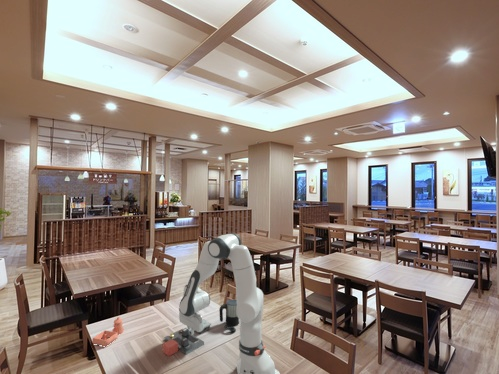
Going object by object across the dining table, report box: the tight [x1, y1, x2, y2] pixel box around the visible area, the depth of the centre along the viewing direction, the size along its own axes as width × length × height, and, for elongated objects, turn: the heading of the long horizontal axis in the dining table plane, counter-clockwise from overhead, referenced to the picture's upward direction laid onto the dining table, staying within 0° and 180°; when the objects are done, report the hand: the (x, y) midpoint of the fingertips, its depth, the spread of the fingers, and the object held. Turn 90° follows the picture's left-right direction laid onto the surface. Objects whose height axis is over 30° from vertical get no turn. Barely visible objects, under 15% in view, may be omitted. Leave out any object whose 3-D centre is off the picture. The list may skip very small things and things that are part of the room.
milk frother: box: [219, 298, 240, 332], centre depth 173 cm, size 14×16×15 cm
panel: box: [163, 328, 205, 355], centre depth 155 cm, size 22×13×2 cm, turn 50°
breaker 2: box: [181, 337, 189, 347], centre depth 149 cm, size 3×3×3 cm
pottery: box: [92, 316, 125, 348], centre depth 159 cm, size 18×10×10 cm, turn 165°
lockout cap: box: [162, 339, 179, 357], centre depth 145 cm, size 6×6×5 cm
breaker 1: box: [181, 327, 189, 336], centre depth 160 cm, size 3×3×3 cm
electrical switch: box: [197, 318, 212, 335], centre depth 169 cm, size 9×5×9 cm
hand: (191, 333), depth 154 cm, fingers closed
